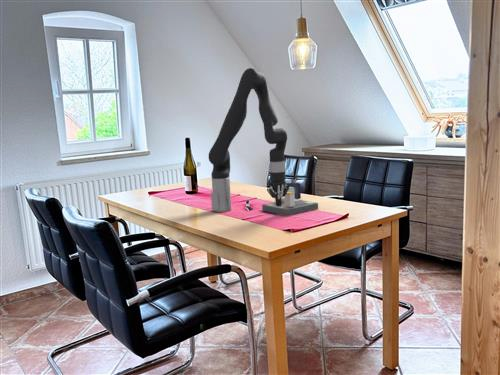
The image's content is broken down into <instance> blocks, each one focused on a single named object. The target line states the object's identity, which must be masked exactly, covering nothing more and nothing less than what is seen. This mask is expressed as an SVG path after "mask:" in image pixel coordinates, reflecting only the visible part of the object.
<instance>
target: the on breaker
mask: <svg viewBox="0 0 500 375" xmlns="http://www.w3.org/2000/svg"><path fill="white" fill-rule="evenodd" d="M287 192H293V193H294V188H293V187H289V189H288V191H287ZM294 197H295V194H294Z"/></svg>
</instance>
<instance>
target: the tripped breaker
mask: <svg viewBox="0 0 500 375" xmlns="http://www.w3.org/2000/svg"><path fill="white" fill-rule="evenodd" d="M295 199H296V198H295V197H294V193H293V192H287V193H286V195H285V197H284V200H285V206H288V207H292V206H295Z"/></svg>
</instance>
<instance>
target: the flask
mask: <svg viewBox="0 0 500 375" xmlns="http://www.w3.org/2000/svg"><path fill="white" fill-rule="evenodd" d="M285 182H286V181H285ZM286 185H287V186H289V187H293V188H294V194H295V199H298V200H301V197H302V194H301V193H302V192H301V183H300V182H298V181H295V179H294V178H293V179H291V180H290V181H289V182H286Z"/></svg>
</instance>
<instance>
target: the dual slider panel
mask: <svg viewBox="0 0 500 375" xmlns="http://www.w3.org/2000/svg"><path fill="white" fill-rule="evenodd" d="M261 207H262V208H261V210H262V211H263V212H264V211H265V212H268V213H273V214H278V215H281V216H286V217H287V216H288V217H289V216H293V215H297V214H301V213H306V211H307V212H310V211H309V210H311V211H314V209H315V210H319V202H315V201H314V202H313V201H309V200H303V199H296V198H295V206H292V207H288V206H285V199H284V200H283V199H282V205H281V206H279V207H278V206H276V201H274V202H269V203H264V204H262V205H261Z"/></svg>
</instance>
